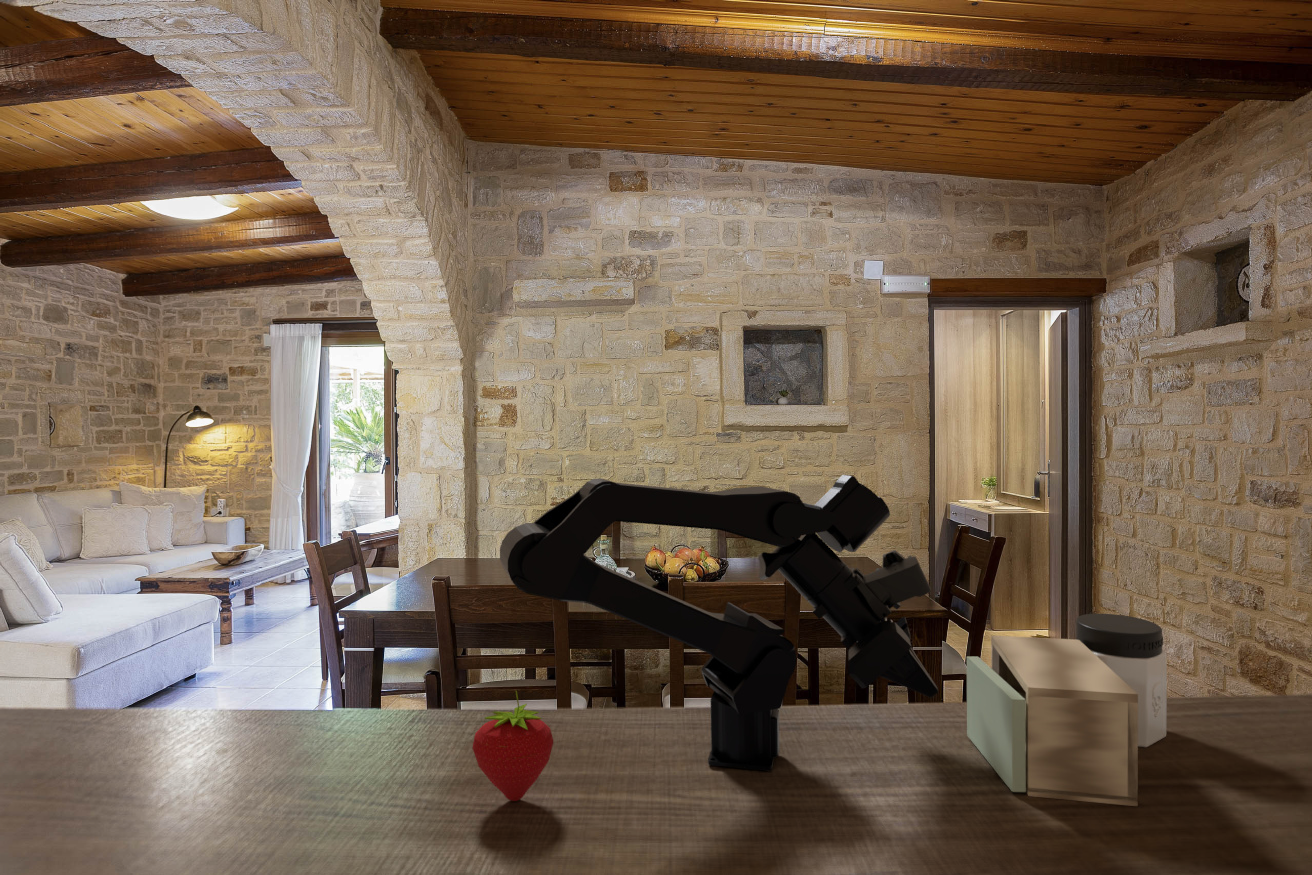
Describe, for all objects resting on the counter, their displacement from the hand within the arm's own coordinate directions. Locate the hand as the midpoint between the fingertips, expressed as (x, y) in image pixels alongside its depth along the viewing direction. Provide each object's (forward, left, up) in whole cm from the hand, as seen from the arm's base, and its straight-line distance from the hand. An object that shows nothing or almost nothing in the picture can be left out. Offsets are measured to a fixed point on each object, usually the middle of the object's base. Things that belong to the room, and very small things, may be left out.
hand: (934, 693), depth 76 cm
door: (+5, -1, -6) cm, 8 cm away
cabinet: (+12, +1, -6) cm, 13 cm away
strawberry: (-40, -17, -7) cm, 43 cm away
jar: (+20, +10, -7) cm, 24 cm away
